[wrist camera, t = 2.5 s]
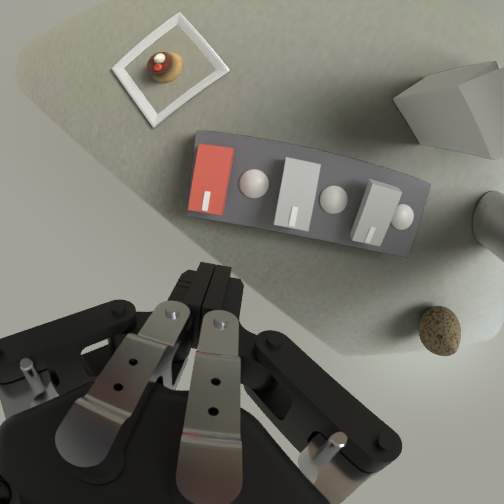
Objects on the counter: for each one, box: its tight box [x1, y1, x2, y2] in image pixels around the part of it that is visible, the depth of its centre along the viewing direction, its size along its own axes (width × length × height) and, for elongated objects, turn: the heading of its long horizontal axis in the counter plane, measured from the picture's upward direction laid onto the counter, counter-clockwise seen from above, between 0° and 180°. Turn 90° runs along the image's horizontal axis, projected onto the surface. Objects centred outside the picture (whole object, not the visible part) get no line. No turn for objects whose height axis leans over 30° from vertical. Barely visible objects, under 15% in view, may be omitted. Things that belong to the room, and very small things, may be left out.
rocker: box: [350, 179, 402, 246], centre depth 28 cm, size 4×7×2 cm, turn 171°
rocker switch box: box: [187, 131, 431, 258], centre depth 32 cm, size 28×10×4 cm, turn 81°
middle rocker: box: [274, 157, 321, 231], centre depth 28 cm, size 4×7×2 cm, turn 171°
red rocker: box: [188, 144, 235, 215], centre depth 28 cm, size 4×7×2 cm, turn 171°
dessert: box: [111, 12, 230, 128], centre depth 27 cm, size 12×12×5 cm
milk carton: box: [393, 60, 504, 160], centre depth 19 cm, size 7×7×19 cm
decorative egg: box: [419, 306, 461, 356], centre depth 35 cm, size 7×7×10 cm
